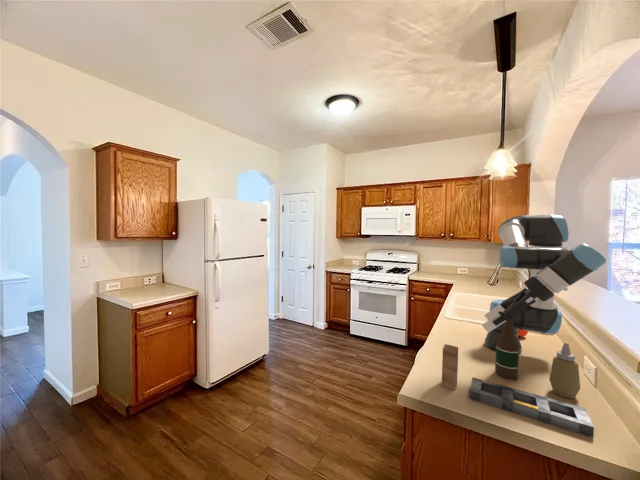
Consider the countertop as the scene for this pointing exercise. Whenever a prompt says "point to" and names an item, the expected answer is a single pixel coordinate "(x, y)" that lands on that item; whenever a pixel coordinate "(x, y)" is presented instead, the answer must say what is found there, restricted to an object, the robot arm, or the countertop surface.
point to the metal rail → (532, 406)
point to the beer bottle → (507, 353)
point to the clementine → (522, 333)
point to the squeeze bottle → (565, 373)
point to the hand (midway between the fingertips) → (486, 323)
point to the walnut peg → (449, 366)
